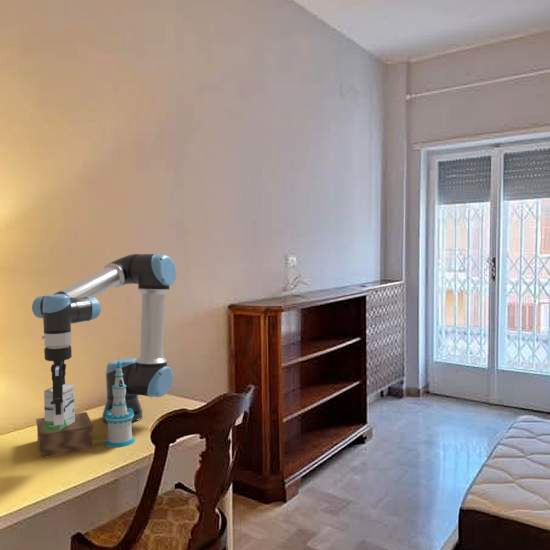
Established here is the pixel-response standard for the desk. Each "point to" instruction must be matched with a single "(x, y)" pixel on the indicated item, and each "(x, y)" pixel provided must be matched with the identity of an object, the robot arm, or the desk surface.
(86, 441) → the walnut block
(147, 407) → the desk surface
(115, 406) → the model tower
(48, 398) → the ink box
